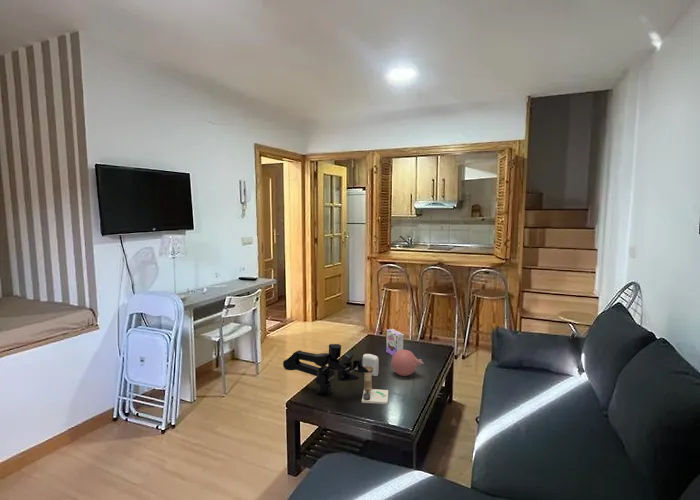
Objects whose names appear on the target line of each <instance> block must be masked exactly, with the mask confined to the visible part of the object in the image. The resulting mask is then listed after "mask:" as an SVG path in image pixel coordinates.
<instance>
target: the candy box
mask: <svg viewBox="0 0 700 500" xmlns="http://www.w3.org/2000/svg"><path fill="white" fill-rule="evenodd" d="M385 335H386V337H385V338H386V341H385V342H386V345H385V353H388V354H389V355H391V356H392V357H393V355H394V354H395V353H396V352H397V351H399V350H404V336H405V334H404V333H402V332H400V331H398V330H396V329H394V328H389V329H386V333H385Z"/></svg>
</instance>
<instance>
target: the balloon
mask: <svg viewBox="0 0 700 500" xmlns="http://www.w3.org/2000/svg"><path fill="white" fill-rule="evenodd" d="M390 361H391V363H390V364H391V368H392V370H393V372H394V373H396V374H397V375H399V376H403V377H407V376H410V375H412V374H413V373H414V372H415V371H416V369H417V367H418V366H419V367H421V366H422V365H425V363H424V362H423V360H422V359H421V358H419V359H418V358H417V357H416V356H415V355H414V352H412V351H410V350H408V349H403V350H399V351H397V352H396V353H395V354H394V355H393V356H392V357H391V360H390Z"/></svg>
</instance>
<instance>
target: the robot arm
mask: <svg viewBox="0 0 700 500" xmlns="http://www.w3.org/2000/svg"><path fill="white" fill-rule="evenodd" d="M341 354H342V345H341V344H339V343H330V344H328V353H327V352H324V353H312V352H307V351H303V350H300V349H299V350H297V351H294V352H293V353H292V355H290V356H289V357H288V358H287V359H285V360H284V361H282V366H283V369H284V370H286V371H298V372H299V371H300V372H302V373H305V374H308V375H311V376H314V377H316V379H315V382H316V384H317V385H318V386H317V387H318V390H317V391H316V393H317V394H318V395H321V396H324V397H326V396H328V395H330V394H332V393H333V390H332V384H331V381H333V379H334V378H335V375H336V373H335V371H337V380H338V381H337V382H340V383H342V382H348V381H356V380H360V377H359V376H358V375H356V374H354V373H352V372H355V373H359V374H360V373H361V374H364V373H368V372H369V371H368V370H367V369H366V368H365V367H364V366H363V359H361V358H356V359H355V360H353V363H352V359H353V358H354V353H353V352H352V351H347V352H345V354H344V355H343V356H342V359H339V358H340V357H341ZM301 361H305V362H301ZM306 362H311V363H313V364H315V365H316V366H315V365H312V364H308V363H306Z"/></svg>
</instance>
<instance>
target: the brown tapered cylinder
mask: <svg viewBox="0 0 700 500" xmlns="http://www.w3.org/2000/svg"><path fill="white" fill-rule="evenodd" d="M365 368H366V369H367V370H368V371H369V372H368V373H363V375H364V377H363V378H364V379H363V380H364V386H363V387H364V388H363V391H364V390H365V391H367V392H366V394H364V395H363V394H362V397H363V399H365V400H369V399H370V394H368V393H369V391H371V390H372V389H373V387H372V383H373V381H372V379H373V376H372V372H373V368H372V367H370V366H366V367H365Z"/></svg>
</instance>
